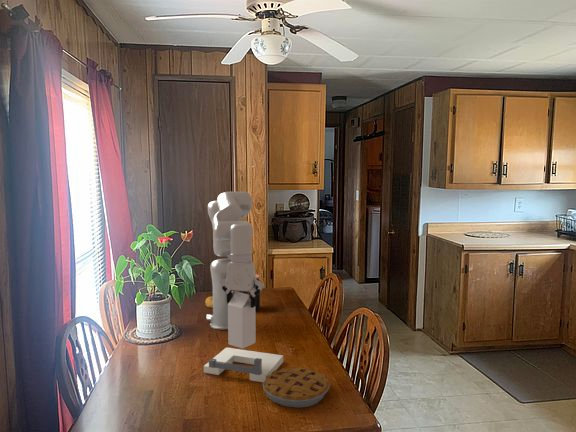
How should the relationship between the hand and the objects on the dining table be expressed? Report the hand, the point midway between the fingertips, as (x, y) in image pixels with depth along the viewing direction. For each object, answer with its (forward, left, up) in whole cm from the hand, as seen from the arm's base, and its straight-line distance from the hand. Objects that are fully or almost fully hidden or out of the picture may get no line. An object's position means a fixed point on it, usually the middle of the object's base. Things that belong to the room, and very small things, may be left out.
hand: (241, 305), depth 163 cm
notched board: (0, +2, -24) cm, 24 cm away
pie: (+24, -10, -25) cm, 36 cm away
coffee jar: (-26, +66, -24) cm, 75 cm away
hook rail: (0, -6, -22) cm, 22 cm away
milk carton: (0, 0, -15) cm, 15 cm away
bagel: (-47, +66, -25) cm, 85 cm away
